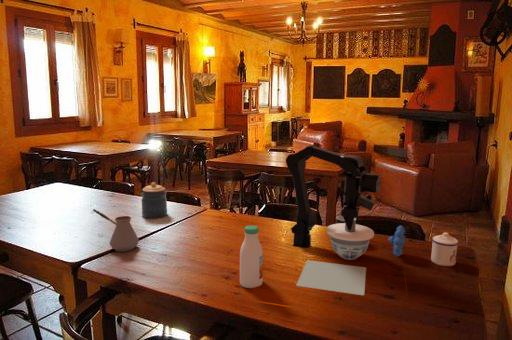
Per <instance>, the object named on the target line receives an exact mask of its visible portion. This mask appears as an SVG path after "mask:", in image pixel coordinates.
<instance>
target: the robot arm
mask: <svg viewBox="0 0 512 340" xmlns="http://www.w3.org/2000/svg"><path fill="white" fill-rule="evenodd" d="M312 157H313V158H316V159H320V160H322V161H324V162H328V163H331V164H334V165H335V166H338V167H339V168H340V169H342V170H343V172H342V173H341V174H339V176H340V178H341V177H342V178H345V179H344V192H343V196H344V197H343V203H342V205H343V207H342V208H341V210H340V216H343V218H344V220H345V223H346V226H347V228H348V230H351V228H352V224H353V221H354V218H356V219H357V218H359V215H360V213H359V212H360V207H362V208H364V209H367V211H373V210H372V209H373V208H374V205H375V204H376V203H375V200H374V199H373V198H372V197H373V196H372V194H369V193H375V194H379V193H380V192H381V190H382V184H383V183H382V179H381V175H380V174H378V173H377V174H375V173H369V170H368V169H367V167H366V166H365V164H364V161H363V158H362V157H361V156H359V155H354V154H341V153H339V152H335V151H332V150H329V149H326V148H322V147H319V146H316V145H315V144H311V145H307V146H306V147H304V148H303V149H301V150H299V151H297V152H295V153H291V154H288V155H287V156H286V158H285V163H286V167H287V171H288V172H289V173H290V174H291V176H292V180H293V187H294V192H295V193H294V194H295V197H296V203H297V213H296V224H294V225H293V226H292V227H291V228H290V231H291V233H292V234H293V245H292V247H295V248H298V247H299V248H306V249H308V248H309V247H310V246H311V243H312V235H311V231H312V229H313V228H314V227H315V226H316V225H317V221H318V218H317V211H316V210H312V208H311V207H310V206H311V205H310V201H309V196H308V190H307V183H306V177H305V170H306V166H307V162H306V161H308V160H309V159H311V158H312ZM361 190H362V191H363V192H369V193H367V194H366V195H363V194H362V192H361Z"/></svg>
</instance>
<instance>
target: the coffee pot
mask: <svg viewBox="0 0 512 340" xmlns="http://www.w3.org/2000/svg"><path fill="white" fill-rule="evenodd" d="M90 213H91V214H93V215H94V213H95V214H98V215H99V216H100V217H101V218H104V219H105V220H107V221H109V222H110V223H112V224H114V225H115V227H114V230H113V233H112V236H111V237H110V240H109V245H110V247H111V248H112V249H113V250H115V251H116V252H122V253H124V252H130V251H132V250H134V249H135V247H137V245H138V244H139V242H140V239H139V238H138V236H137V233H136V232H135V230H134V228H133V225H132V224H131V220H132V217H131V216H129V215H122V216H117V217H115V218H114V220H112V219H111V218H109V217H108V216H107V215H106V214H104V213H102V212H100V211H99V210H97V209H95V208H94V209H92V211H91V212H90Z"/></svg>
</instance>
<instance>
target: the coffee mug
mask: <svg viewBox="0 0 512 340" xmlns="http://www.w3.org/2000/svg"><path fill="white" fill-rule="evenodd" d="M354 220H355V221H356V222H357V218H356V217H355V218H354ZM335 221H336V223H335V224H338V223H345V220H344V218H343V216H341V215H337V216H336V217H335Z"/></svg>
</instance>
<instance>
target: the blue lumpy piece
mask: <svg viewBox="0 0 512 340" xmlns="http://www.w3.org/2000/svg"><path fill="white" fill-rule="evenodd" d="M395 229H396V231H395V232H394V235H391V236H390V237H388V239H387V240H388V242H389V244H392V250H393V252H392V253H393V255H394V256H395V257H396V258H398V257H400V256H401V255H402V253H403V252H404V250H403V249H402V248H403V247H405V243H406V240H405V239H406V236H405V233H406V231H407V230H406V229H405V227H404V226H403V225H399V226H396V228H395Z"/></svg>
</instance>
